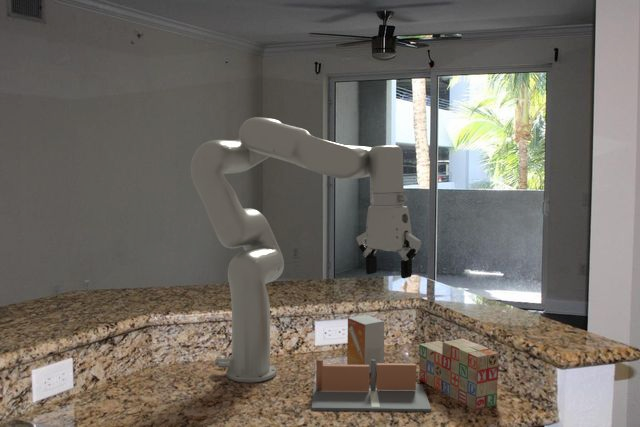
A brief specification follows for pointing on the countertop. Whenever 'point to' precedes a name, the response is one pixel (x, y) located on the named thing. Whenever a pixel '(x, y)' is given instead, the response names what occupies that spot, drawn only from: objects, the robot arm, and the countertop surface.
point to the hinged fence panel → (393, 376)
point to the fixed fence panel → (341, 377)
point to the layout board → (371, 400)
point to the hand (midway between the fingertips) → (388, 275)
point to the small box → (365, 341)
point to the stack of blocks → (461, 371)
